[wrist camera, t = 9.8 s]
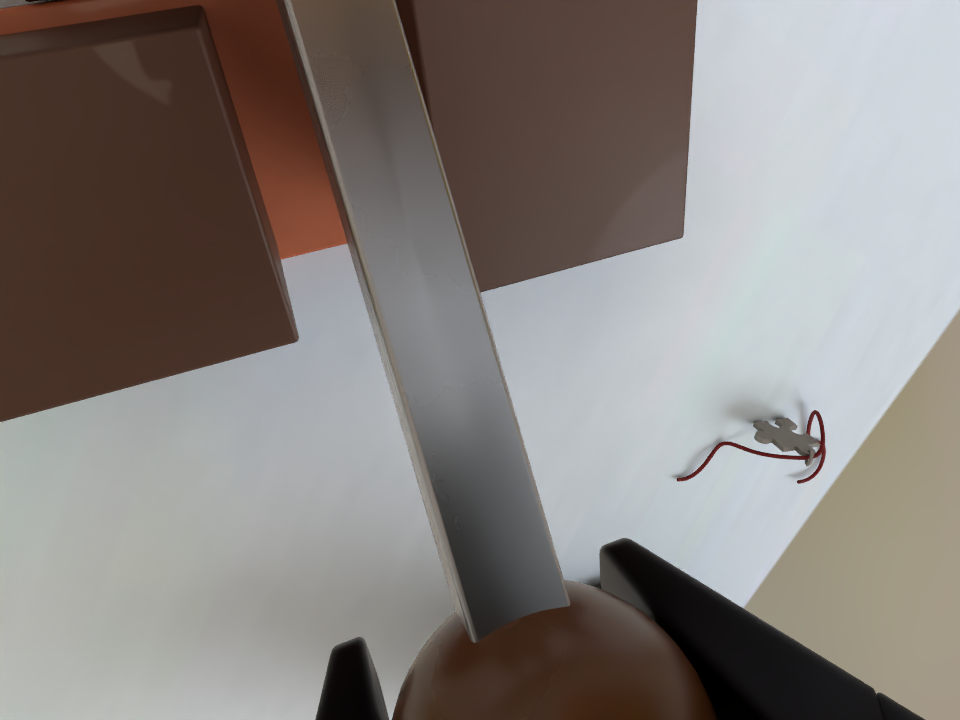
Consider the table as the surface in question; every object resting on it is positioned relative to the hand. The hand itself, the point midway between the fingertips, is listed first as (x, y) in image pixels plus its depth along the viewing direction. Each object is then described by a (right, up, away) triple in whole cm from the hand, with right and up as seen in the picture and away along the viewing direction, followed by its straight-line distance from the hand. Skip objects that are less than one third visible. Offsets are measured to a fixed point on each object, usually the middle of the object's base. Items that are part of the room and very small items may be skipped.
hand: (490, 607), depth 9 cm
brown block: (-4, +9, +6) cm, 12 cm away
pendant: (+12, 0, +19) cm, 22 cm away
